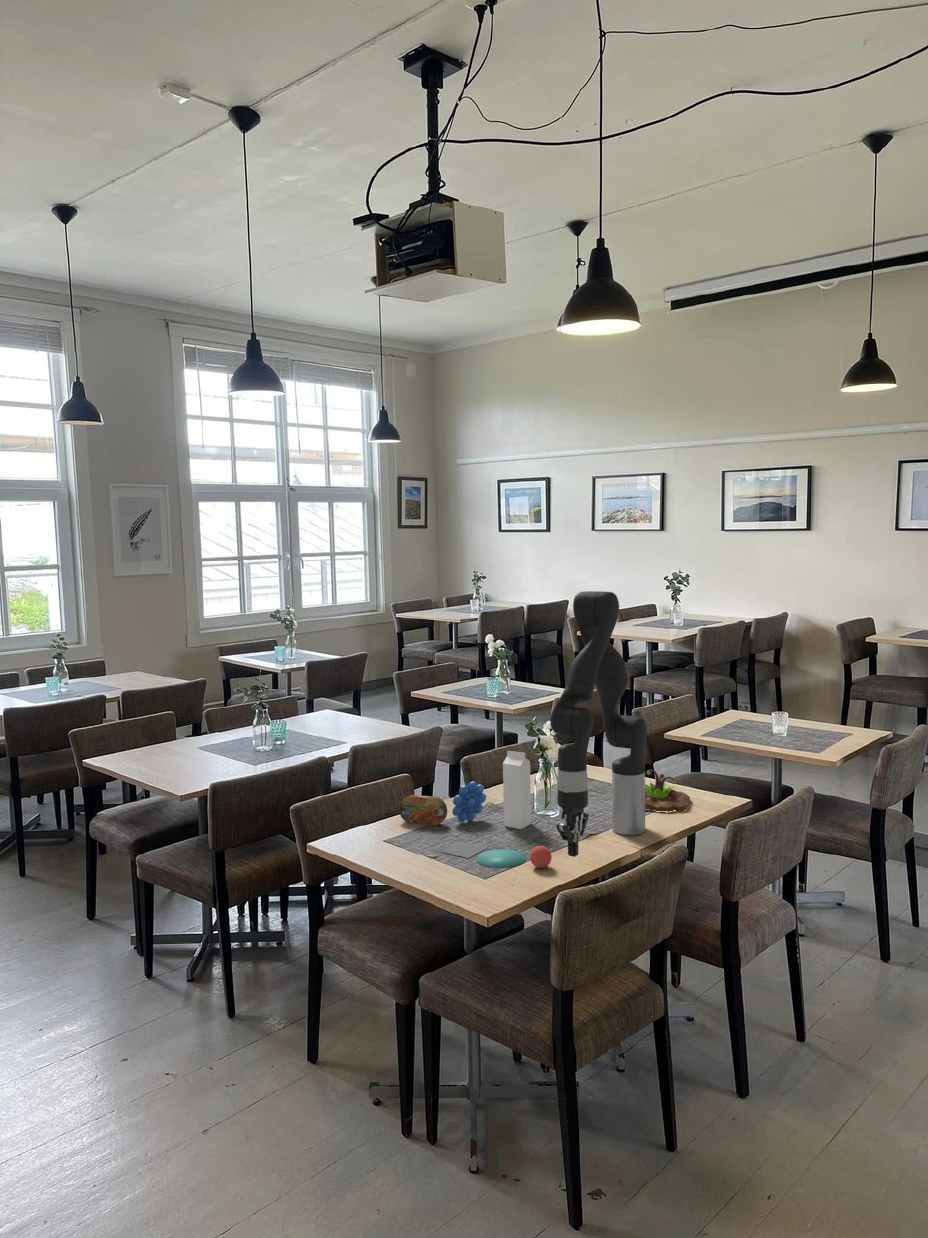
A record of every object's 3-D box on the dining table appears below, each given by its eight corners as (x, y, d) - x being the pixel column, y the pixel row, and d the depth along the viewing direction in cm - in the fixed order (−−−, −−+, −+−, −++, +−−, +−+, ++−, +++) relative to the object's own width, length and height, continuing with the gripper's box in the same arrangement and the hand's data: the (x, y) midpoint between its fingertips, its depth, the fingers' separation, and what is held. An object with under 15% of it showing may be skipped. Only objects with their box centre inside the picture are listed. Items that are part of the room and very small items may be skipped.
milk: (521, 829, 253) (520, 755, 251) (503, 826, 256) (502, 753, 254) (531, 823, 258) (530, 750, 256) (513, 820, 261) (512, 748, 259)
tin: (398, 822, 262) (398, 795, 261) (403, 819, 265) (402, 792, 264) (444, 827, 256) (444, 799, 256) (449, 824, 259) (448, 796, 259)
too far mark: (460, 842, 242) (460, 842, 242) (487, 848, 237) (487, 847, 237) (441, 852, 235) (441, 851, 235) (468, 858, 230) (468, 857, 230)
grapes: (479, 814, 268) (478, 776, 267) (490, 820, 262) (489, 781, 261) (446, 821, 262) (445, 782, 261) (457, 827, 256) (456, 787, 255)
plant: (631, 793, 288) (630, 760, 287) (692, 798, 281) (691, 764, 280) (620, 811, 269) (620, 775, 268) (685, 816, 262) (685, 780, 261)
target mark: (494, 847, 238) (494, 846, 238) (535, 855, 231) (535, 855, 231) (467, 861, 228) (467, 860, 228) (509, 871, 220) (509, 870, 220)
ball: (537, 862, 226) (536, 841, 226) (555, 866, 223) (555, 845, 222) (526, 868, 222) (525, 847, 221) (544, 873, 218) (544, 851, 218)
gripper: (571, 779, 222) (572, 845, 224) (546, 790, 212) (546, 860, 213) (598, 783, 218) (598, 850, 219) (573, 795, 207) (573, 866, 209)
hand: (573, 855), depth 216 cm, fingers closed
